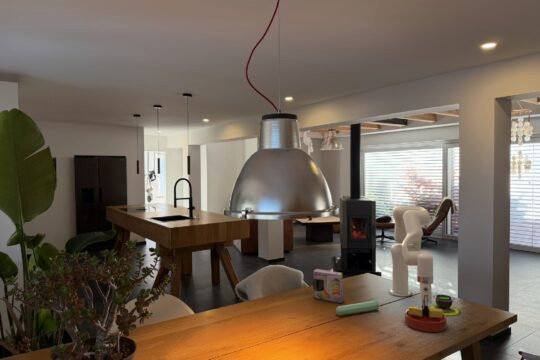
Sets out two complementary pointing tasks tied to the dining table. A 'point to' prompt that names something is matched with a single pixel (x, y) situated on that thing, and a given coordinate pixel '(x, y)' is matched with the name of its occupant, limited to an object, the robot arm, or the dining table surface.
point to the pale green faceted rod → (357, 308)
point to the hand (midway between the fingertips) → (425, 314)
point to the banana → (432, 312)
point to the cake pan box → (328, 285)
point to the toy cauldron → (445, 304)
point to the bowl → (426, 322)
